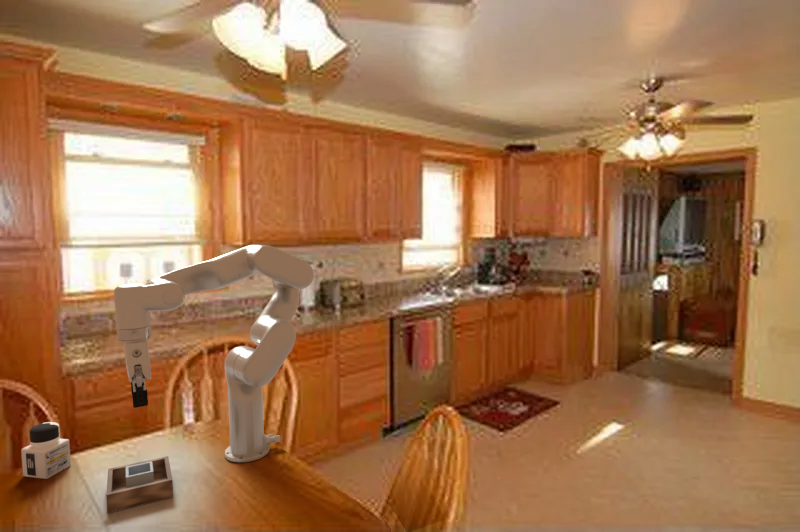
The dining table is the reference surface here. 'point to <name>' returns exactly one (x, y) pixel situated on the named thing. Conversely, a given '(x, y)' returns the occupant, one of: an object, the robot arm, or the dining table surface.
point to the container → (45, 452)
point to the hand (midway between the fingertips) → (139, 400)
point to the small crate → (139, 474)
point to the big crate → (141, 494)
